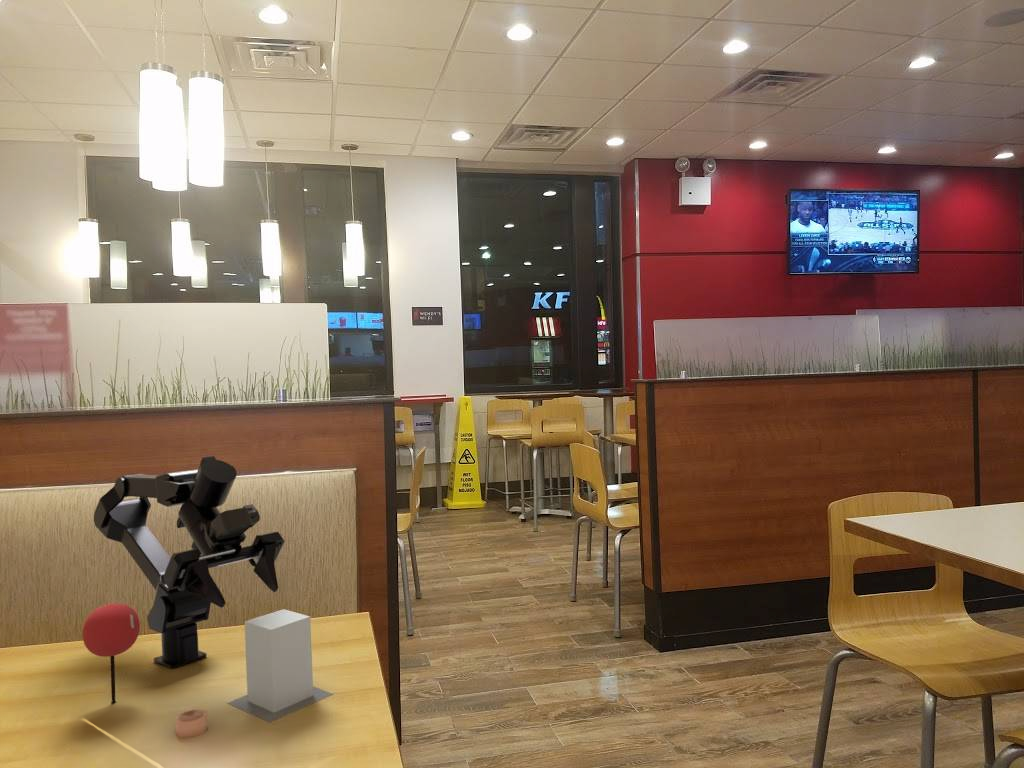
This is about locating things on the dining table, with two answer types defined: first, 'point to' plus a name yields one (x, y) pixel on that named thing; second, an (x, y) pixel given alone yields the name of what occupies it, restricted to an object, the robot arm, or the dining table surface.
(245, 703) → the mat
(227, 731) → the dining table surface
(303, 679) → the cover
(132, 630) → the lollipop
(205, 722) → the bowl
